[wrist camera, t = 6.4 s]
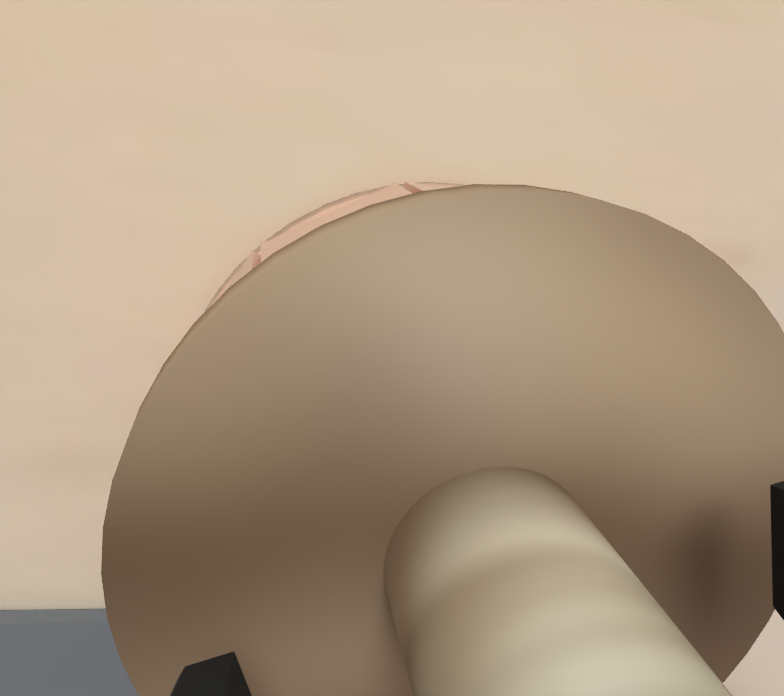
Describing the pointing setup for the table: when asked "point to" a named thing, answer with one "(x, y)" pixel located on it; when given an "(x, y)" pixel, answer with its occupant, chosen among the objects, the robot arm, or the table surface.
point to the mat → (60, 654)
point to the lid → (458, 461)
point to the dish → (320, 218)
